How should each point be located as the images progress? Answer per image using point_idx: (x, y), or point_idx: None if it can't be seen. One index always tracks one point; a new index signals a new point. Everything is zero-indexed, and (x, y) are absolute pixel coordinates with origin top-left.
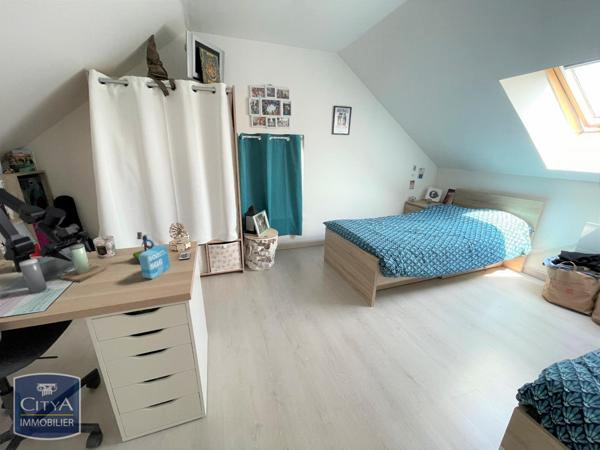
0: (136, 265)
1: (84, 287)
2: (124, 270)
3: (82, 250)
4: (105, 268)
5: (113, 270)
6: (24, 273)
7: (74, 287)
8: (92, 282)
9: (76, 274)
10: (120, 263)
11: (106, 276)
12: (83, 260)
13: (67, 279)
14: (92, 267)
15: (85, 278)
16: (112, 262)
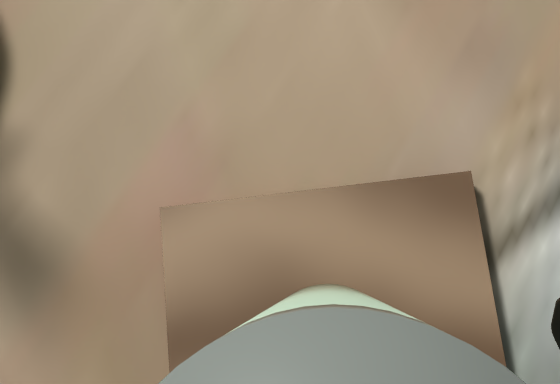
0: (10, 10)
1: (505, 33)
2: (128, 17)
3: (298, 304)
4: (174, 207)
5: (163, 119)
6: None
7: (551, 122)
8: (413, 61)
9: None
10: (16, 211)
11: (279, 57)
12: (337, 288)
13: None
14: None
15: (410, 179)
16: (20, 328)
